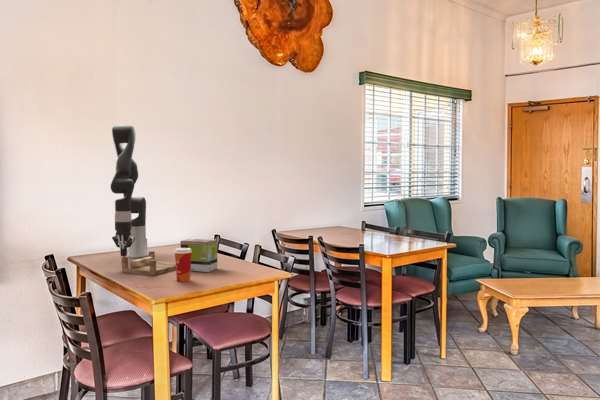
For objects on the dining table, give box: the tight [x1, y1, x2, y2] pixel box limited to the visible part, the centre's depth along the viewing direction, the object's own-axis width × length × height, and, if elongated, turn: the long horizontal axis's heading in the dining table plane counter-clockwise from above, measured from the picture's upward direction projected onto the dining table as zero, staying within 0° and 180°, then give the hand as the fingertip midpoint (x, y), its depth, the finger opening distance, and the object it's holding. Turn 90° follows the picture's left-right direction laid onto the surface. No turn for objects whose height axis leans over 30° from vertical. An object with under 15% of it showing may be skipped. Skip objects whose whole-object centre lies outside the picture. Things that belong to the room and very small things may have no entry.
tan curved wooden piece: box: [129, 254, 156, 268], centre depth 234 cm, size 15×2×4 cm, turn 155°
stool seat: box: [121, 250, 176, 277], centre depth 233 cm, size 20×19×7 cm
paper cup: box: [173, 247, 192, 283], centre depth 211 cm, size 8×8×14 cm
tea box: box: [180, 237, 218, 273], centre depth 234 cm, size 15×10×15 cm, turn 71°
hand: (123, 256), depth 232 cm, fingers closed
